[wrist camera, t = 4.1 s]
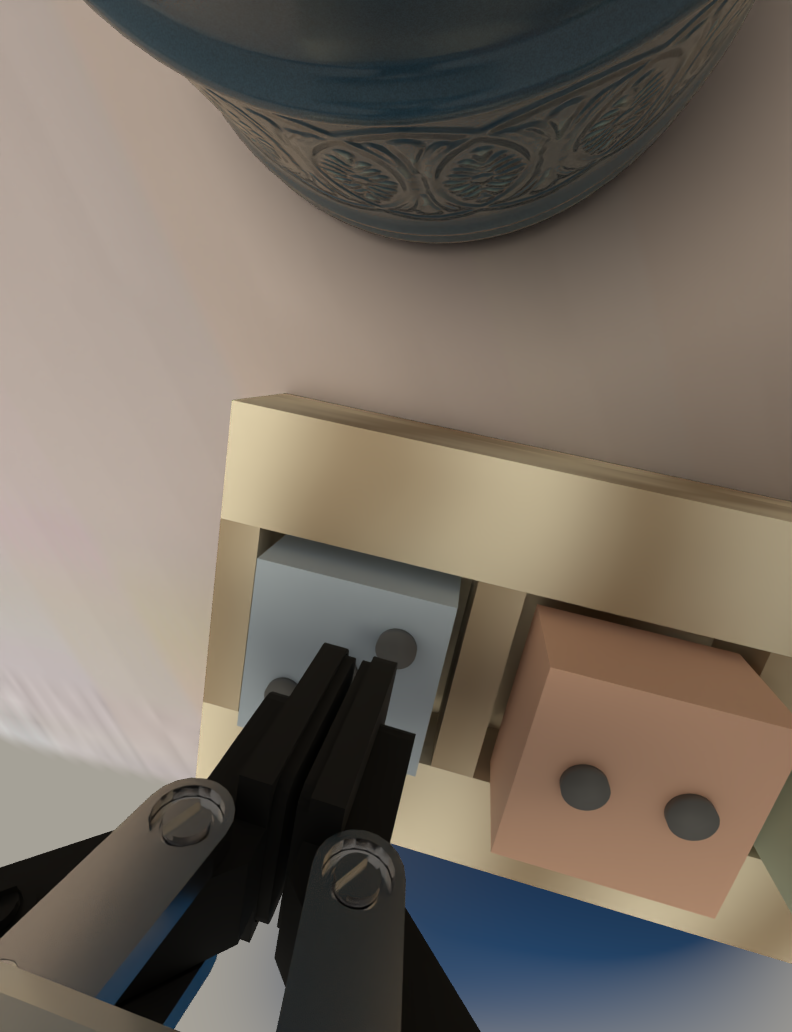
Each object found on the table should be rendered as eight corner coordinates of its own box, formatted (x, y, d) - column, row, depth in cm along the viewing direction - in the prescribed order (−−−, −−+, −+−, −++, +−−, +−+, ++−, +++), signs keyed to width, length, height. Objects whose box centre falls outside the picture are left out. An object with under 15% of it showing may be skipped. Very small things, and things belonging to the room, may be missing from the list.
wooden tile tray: (1064, 560, 14) (1247, 622, 11) (861, 887, 18) (952, 1011, 14) (285, 393, 16) (232, 399, 13) (245, 712, 20) (195, 784, 17)
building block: (463, 563, 15) (456, 612, 12) (427, 706, 17) (414, 782, 14) (298, 523, 16) (253, 560, 13) (278, 666, 17) (233, 730, 14)
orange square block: (739, 653, 13) (816, 740, 10) (669, 810, 14) (718, 927, 11) (537, 604, 14) (551, 672, 10) (490, 760, 15) (490, 860, 12)
